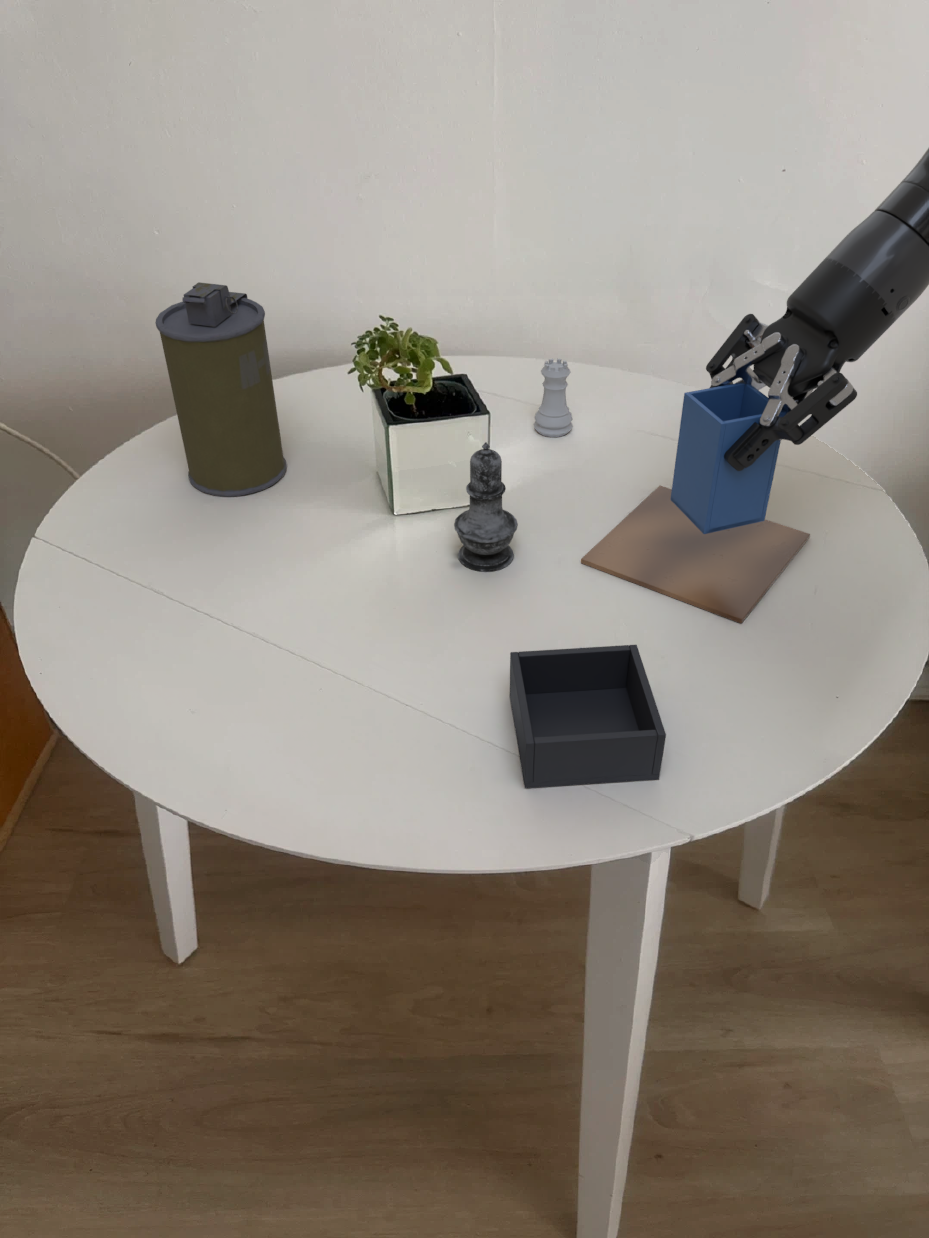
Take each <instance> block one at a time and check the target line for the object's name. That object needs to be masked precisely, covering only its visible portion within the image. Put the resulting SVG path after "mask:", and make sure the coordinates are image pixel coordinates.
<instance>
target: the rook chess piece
mask: <svg viewBox="0 0 929 1238" xmlns="http://www.w3.org/2000/svg"><path fill="white" fill-rule="evenodd" d="M568 366H569V365H568V361H567V360H562V358H556V361H555V362H554V358H549V359H548V360H545V361H544V366H542V368H541V369H540V374H541V375H542V376H543V377H544V380H543V382H542V384H541V385H542V386H543V395H542V399H541V404H540V406H539V407H538V410H537V411H536V412H535V415H534V423H533V428H534V429H535V431H536V432H537V433H538V434H540V435H541V436H544V437H548V438H559V437H563V436H566V435H567V434H569V433H570V431H571V430H573V427H574V426H573V423H572V421H573V415H572V412H571V411H570V408H569V406H568V405H567V396H566V395H567V387H568V386H569V384H568V382H567V378H568V377H569V376H570V374H571V369H570V368H569V367H568Z"/></svg>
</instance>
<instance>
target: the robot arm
mask: <svg viewBox="0 0 929 1238" xmlns="http://www.w3.org/2000/svg"><path fill="white" fill-rule="evenodd" d="M928 287H929V147H927V149H926V151H925V152H924V153H923V154H922V155H921V157H920V159H919V160H918V161H917V163H915V165H914V166H913V167H912V169H911V170H910V171H909V173H908V174H907V175H905V177H904V178H903V179H902V180H901V181H900V182H899V183H898V184H897V186H895V188H894V189H892V191H891V192H890V193H889V194H888V195H887V196H886V198H884V199H883V200H882V202H881V203H880V204H879V205H878V206H877V207H875V209H874V210H873V211H872V212H871V213H870V214H869V215H868V216H867V217H865V219H864V220H862V221H861V222H860V223H859V224H857V225H856V226H855V227H854V228H853V229H852V230H850V231H849V232H848V234H846V235H845V236H844V237H843V239H841V241H839V243H838V244H837V245H835V247H834V248H833V249H832V250H831V251H830V252H829V253H828V255H826V257H825V258H823V260H822V261H821V262H820V263H819V264H818V265H817V266H816V267H815V269H814V270H812V272H810V274H809V275H808V276H807V277H806V278H805V279H804V280H803V281H802V282H801V283H800V285H799V286H797V288H795V290H794V291H793V292H792V293H791V294H790V295H789V296H788V297H787V299H786V311H785V313H784V314H783V315H782V316H781V317H780V318H778V319H777V320H775V321H773V322H772V323H770V324H769V325H768V324H766V323H763V322H760V320H759V319H758V318H757V317H756V316H755V314H754V313H748V314H746V315H745V316H744V317H743V318H742V320H741V321H740V322H739V323H738V324H737V325H736V327H735V328H734V329H733V330H732V332H731V333H730V334H729V336H728V337H727V338H726V340H725V341H724V342H723V343H722V345H721V346H720V347H719V349H718V350H717V351H716V352H715V354H714V355H713V356H712V358H711V359H709V361H708V362H707V364H706V366H705V370H706V372H707V373H708V374H709V376H710V380H711V381H710V386H709V388H714V387H719V386H724V385H730V384H734V381H736V380H737V379H739V380H738V381H736V382H735V383H741V382H745V383H746V384H747V385H752V386H753V387H755V388H756V389H757V390H759V391H760V390H762V389H764V388H765V387H768V388H769V389H768V392H767V397H768V398H769V401H768V403H767V405H766V407H765V409H764V412H763V414H762V416H761V418H760V424H759V425H758V424H757V423H756V422H754V423H753V424H752V425H751V426H750V427H749V429H748V430H747V431H746V432H745V433H744V434H743V435H742V436H741V437H740V438H739V439H738V440H737V441H736V442H735V443H734V444H733V445H732V446H731V447H730V448H729V449H728V450H727V451H726V452H725V454H724V459H725V460H726V461H727V462H728V463H729V464H730V465H731V466H732V467H733V468H734V469H736V470H737V471H742V470H743V469H744V468H747V467H749V466H751V465H752V464H753V463H754V462H755V461H756V459H758V458H759V457H760V455H762V454H763V453H764V452H765V451H766V450H767V449H768V448H769V447H770V446H771V445H772V444H773V443H774V442H775V441H776V440H778V441H779V440H781V441H782V440H783V441H784V440H785V441H789V442H791V443H792V444H793V445H796V446H800V445H801V444H803V443H804V442H805V441H807V440H808V439H809V438H810V437H811V436H813V435H814V434H815V433H816V432H818V431H819V430H820V429H821V428H823V427H824V426H825V425H826V424H827V423H829V422H830V421H831V420H832V419H833V418H835V417H836V416H837V415H838V414H839V413H840V412H842V411H843V410H844V409H845V408H846V407H848V406H849V405H850V404H851V403H853V401H855V400H856V398H857V397H858V391H857V390H856V388H854V386H853V384H852V383H851V382H850V381H849V380H848V378H846V376H845V375H844V374H843V373H842V372H841V371H842V368H843V366H844V365H845V363H855V362H857V361H858V360H859V359H860V358H861V357H862V356H863V355H864V354H865V353H866V352H867V351H868V350H869V349H870V348H871V347H872V346H873V345H874V344H875V343H876V342H877V341H878V340H879V339H880V337H882V336H883V335H884V333H886V332H887V331H888V330H889V328H890V327H892V325H894V324H895V322H896V321H897V320H898V319H899V318H900V317H901V316H902V315H903V314H904V313H905V312H906V311H907V310H908V309H909V308H910V307H911V306H912V305H913V304H914V303H915V302H916V301H917V300H918V299H919V298H920V297H921V296H922V294H923V293H924V292H925V290H926V289H927V288H928ZM730 358H731V361H730V362H729V363H728V365H726V367H724V365H725V364H726V363H727V361H728V360H729V359H730ZM752 366H753V369H752V368H751V367H752ZM781 410H783V411H786V414H785V415H784V416H783V417H779V414H780V412H781ZM807 417H808V418H807ZM806 418H807V419H806ZM804 419H806V420H804ZM802 421H803V422H802ZM800 423H801V424H800ZM799 424H800V425H799Z"/></svg>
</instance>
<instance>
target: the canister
mask: <svg viewBox="0 0 929 1238" xmlns="http://www.w3.org/2000/svg"><path fill="white" fill-rule="evenodd" d="M265 317H266V312H265V309H264V306H262V305H261V304H260V303H258V302H257V301H255V300H253V299H250V298H248V293H244V292H235V291H229V287H228V285H225V284H217V283H207V282H197V283H196V284H194V285H193V286H192V288H190V290H188V291H186V292H185V293H183V297H182V301H180V302H177V303H173V304H171V305H170V306H168V307H167V308H165V309H164V310H162V311H161V312H159V314H158V315H157V316H156V318H155V327H156V329H157V330H158V332H159V335H160V340H161V345H162V349H163V354H164V360H165V364H166V368H167V373H168V377H169V383H170V387H171V393H172V398H173V402H174V406H175V411H176V417H177V421H178V425H179V429H180V435H181V439H182V443H183V448H184V453H185V459H186V462H187V463H186V464H187V468H188V472H187V474H188V475H187V476H188V480H189V483H190V485H192V486H193V487H194V488H195V489H196V490H198V491H200V492H201V493H204V494H207V495H211V496H213V497H214V496H217V497H240V496H246V495H250V494H254V493H259V492H262V491H264V490H266V489H268V488H270V487H271V486H273V485H275V484H276V483H278V481H280V480H281V479H282V478H283V477H284V476H285V474H286V472H287V467H288V466H287V465H288V464H287V460H286V458H285V457H284V451H283V444H282V437H281V431H280V424H279V423H280V422H279V416H278V410H277V403H276V395H275V389H274V381H273V376H272V375H273V374H272V368H271V362H270V361H271V360H270V353H269V346H268V339H267V333H266V332H267V331H266V327H265V325H266V324H265Z"/></svg>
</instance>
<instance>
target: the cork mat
mask: <svg viewBox="0 0 929 1238" xmlns="http://www.w3.org/2000/svg"><path fill="white" fill-rule="evenodd" d="M671 491H672V488H669V487H667V486H663V485H659V486H658V487H656V488H655V489H654V490H653V491H652V492H651V493H650V494H649V495H648V496H647V497H646V498H644V499H643V500H642V501H641V502H640V503H639V504H638V505H637V506H636V507H635V508H634V509H632V510H631V512H629V513H628V514H627V515H626V516H625V517H624V518H623V519H622V520H621V521H620V522H618V524H617V525H616V526H614V527H613V529H611V530H610V531H609V532H608V533H607V534H606V535H605V536H604V537H603V538H602V539H600V541H598V542H597V543H596V544H595V545H593V547H592V548H591V549H589V551H588V552H587V553H585V555H584V556H582V557H581V558H580V563H581V564H583V565H585V566H587V567H590V568H592V569H595V570H597V571H600V572H604V573H606V574H609V575H612V576H614V577H617V578H619V579H622V580H625V581H627V582H629V583H633V584H635V585H637V586H640V587H643V588H645V589H648V590H651V591H654V592H656V593H659V594H661V595H664V596H667V597H670V598H672V599H674V600H677V601H680V602H683V603H685V604H688V605H691V606H694V607H696V608H698V609H701V610H704V611H707V612H709V613H712V614H714V615H717V616H719V617H722V618H725V619H727V620H730V621H732V622H736V623H738V624H740V625H742V624H743V623H744V621H745V620H746V619H747V618H748V616H749V615H750V614H751V613H752V612H753V610H754V609H755V608H756V606H758V604H759V602H761V600H762V598H764V597H765V595H766V594H767V592H768V591H769V590H770V588H771V587H772V586H773V585H774V584H775V582H776V581H777V580H778V579H779V577H780V576H781V575H782V573H784V571H785V570H786V568H787V567H788V566H789V565H790V563H791V562H792V561H793V560H794V558H795V557H796V556H797V555H798V554H799V552H800V551H801V550H802V548H803V547H804V546H805V544H806V542H808V540H809V539H810V537H811V533H808V532H805V531H802V530H799V529H796V528H794V527H790V526H787V525H784V524H781V523H778V522H775V521H771V520H768V519H765V521H762V522H757V523H753V524H748V525H744V526H739V527H735V528H730V529H726V530H721V531H717V532H712V533H708V534H703V533H702V532H701V531H700V530H699V529H698V528H697V527H696V526H695V525H694V524H693V523H692V522H691V520H690V519H689V518H688V517H687V516H686V515H685V514H684V513H683V512H682V511H681V510H680V509H679V508H678V507H677V506H676V505H675V504H674V503H673V502H672V501H671V500H670V499H671Z"/></svg>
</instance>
